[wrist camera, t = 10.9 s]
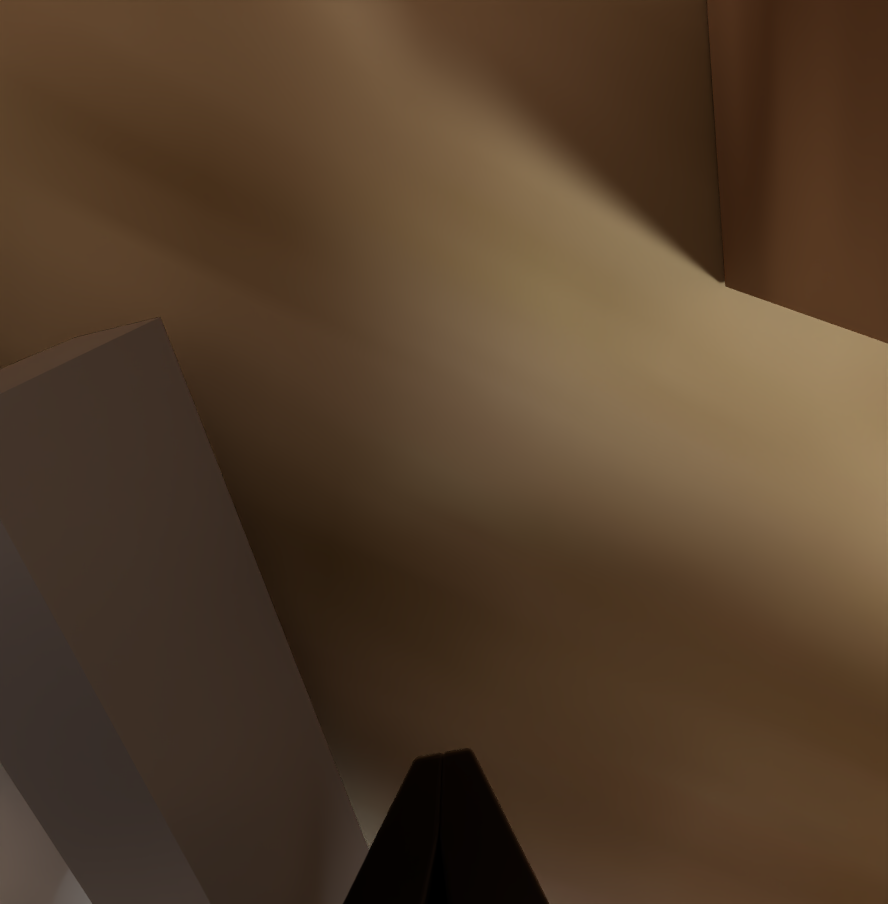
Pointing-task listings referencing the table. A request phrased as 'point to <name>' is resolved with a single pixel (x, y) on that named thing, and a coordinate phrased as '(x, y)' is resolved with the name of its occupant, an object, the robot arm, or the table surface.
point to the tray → (151, 648)
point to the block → (804, 154)
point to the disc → (30, 856)
